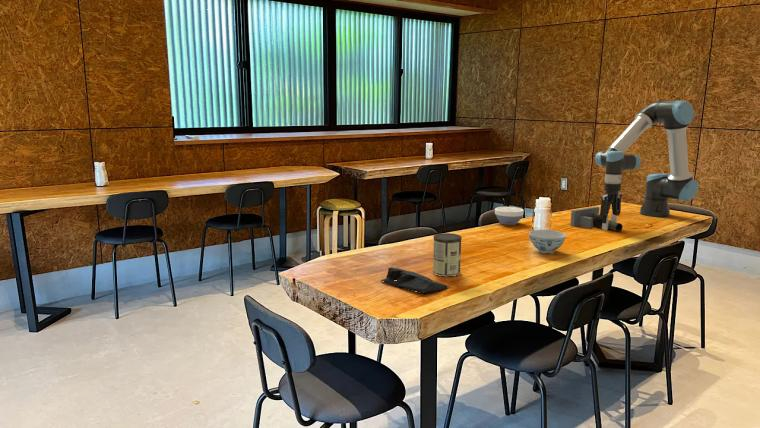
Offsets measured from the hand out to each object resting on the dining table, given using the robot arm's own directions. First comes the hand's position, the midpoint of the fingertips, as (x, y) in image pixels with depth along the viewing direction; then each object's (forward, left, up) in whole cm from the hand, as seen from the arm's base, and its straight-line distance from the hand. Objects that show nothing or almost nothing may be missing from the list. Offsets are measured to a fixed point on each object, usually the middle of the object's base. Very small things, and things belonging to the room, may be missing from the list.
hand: (608, 228), depth 274 cm
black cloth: (+131, +14, -1) cm, 132 cm away
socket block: (0, -11, 0) cm, 11 cm away
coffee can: (+114, +10, -1) cm, 114 cm away
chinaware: (+59, +10, -1) cm, 60 cm away
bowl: (+33, -36, -1) cm, 49 cm away
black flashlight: (0, -3, -1) cm, 3 cm away
